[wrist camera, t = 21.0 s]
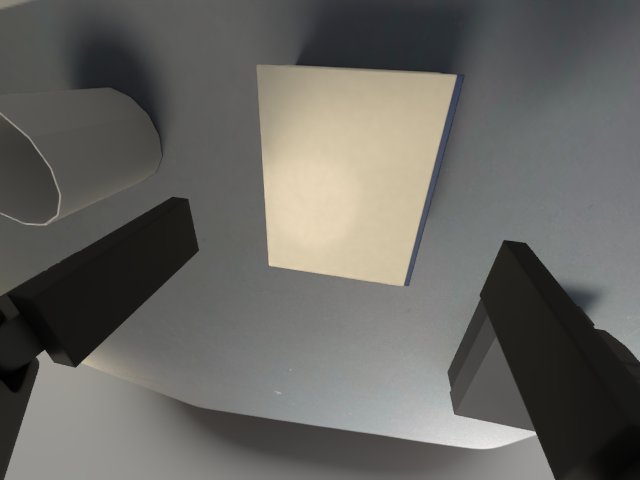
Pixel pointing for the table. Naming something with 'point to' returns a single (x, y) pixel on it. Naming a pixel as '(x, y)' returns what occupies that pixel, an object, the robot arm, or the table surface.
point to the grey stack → (486, 377)
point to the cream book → (351, 166)
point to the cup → (71, 151)
